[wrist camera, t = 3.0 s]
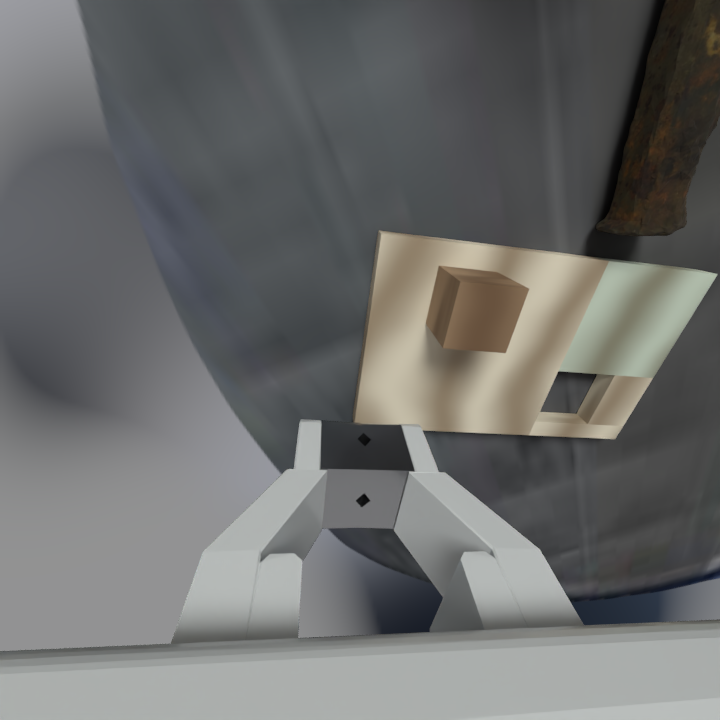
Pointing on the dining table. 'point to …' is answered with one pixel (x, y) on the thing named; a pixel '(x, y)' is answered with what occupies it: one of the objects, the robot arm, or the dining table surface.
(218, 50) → the dining table surface
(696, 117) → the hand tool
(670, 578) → the dining table surface
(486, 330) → the walnut cube
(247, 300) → the dining table surface
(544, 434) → the birch board
